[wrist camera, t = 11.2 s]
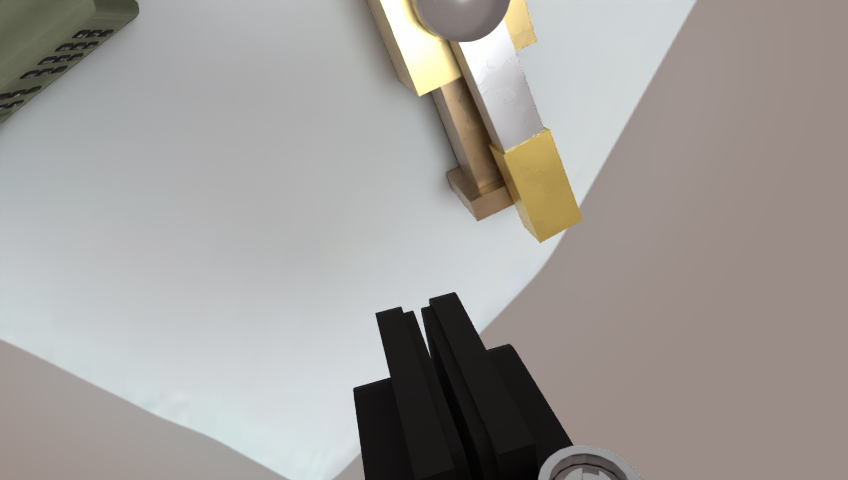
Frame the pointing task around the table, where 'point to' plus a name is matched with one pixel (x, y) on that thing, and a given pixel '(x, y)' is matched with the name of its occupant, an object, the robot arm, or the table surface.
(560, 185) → the lever
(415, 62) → the valve body
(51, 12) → the handheld radio
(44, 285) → the table surface
